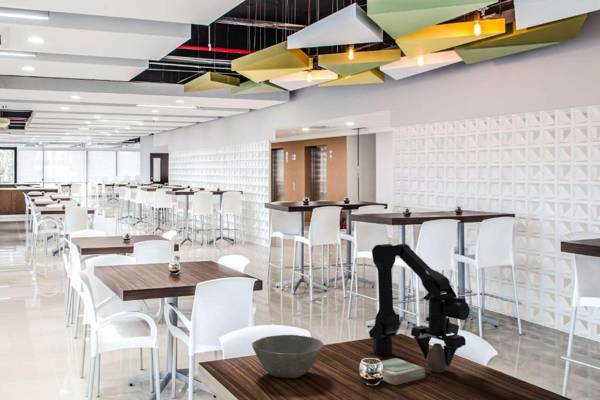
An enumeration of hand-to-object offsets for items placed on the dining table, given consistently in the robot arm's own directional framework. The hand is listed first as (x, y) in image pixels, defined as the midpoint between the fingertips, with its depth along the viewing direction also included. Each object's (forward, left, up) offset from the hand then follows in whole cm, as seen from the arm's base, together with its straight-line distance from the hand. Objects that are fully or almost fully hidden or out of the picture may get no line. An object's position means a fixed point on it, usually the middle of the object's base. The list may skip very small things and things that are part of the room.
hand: (437, 362), depth 183 cm
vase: (0, 0, -3) cm, 3 cm away
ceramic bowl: (-24, -43, -3) cm, 49 cm away
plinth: (-4, -15, -3) cm, 16 cm away
